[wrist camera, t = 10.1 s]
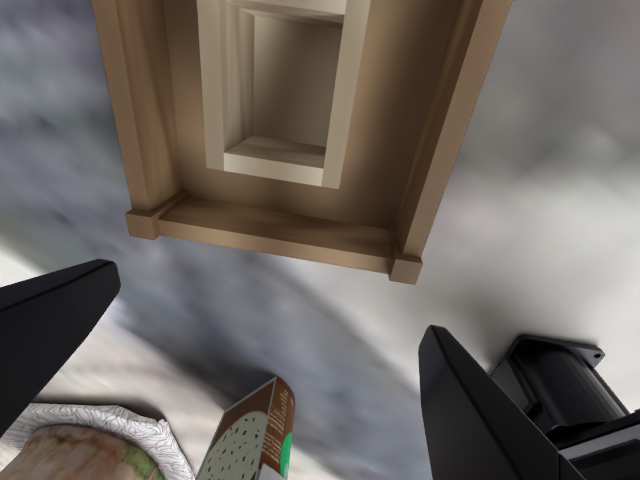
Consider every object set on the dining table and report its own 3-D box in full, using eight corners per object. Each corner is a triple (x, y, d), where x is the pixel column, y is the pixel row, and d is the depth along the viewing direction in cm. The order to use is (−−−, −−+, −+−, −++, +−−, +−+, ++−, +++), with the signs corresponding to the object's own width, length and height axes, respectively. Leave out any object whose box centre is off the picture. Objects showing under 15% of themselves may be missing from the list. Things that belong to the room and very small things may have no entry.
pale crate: (368, 13, 14) (373, -13, 10) (343, 160, 18) (338, 189, 13) (243, -5, 14) (194, -38, 10) (243, 144, 18) (206, 168, 13)
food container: (260, 440, 35) (228, 559, 27) (217, 415, 34) (169, 533, 25) (332, 400, 30) (322, 533, 22) (286, 369, 29) (255, 498, 20)
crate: (514, -119, 12) (600, -223, 8) (402, 240, 21) (414, 284, 16) (133, -169, 13) (17, -294, 8) (176, 202, 21) (129, 236, 17)
